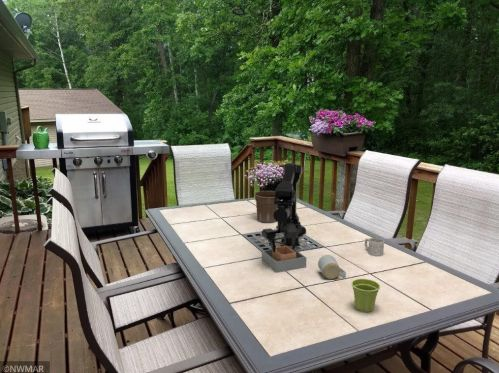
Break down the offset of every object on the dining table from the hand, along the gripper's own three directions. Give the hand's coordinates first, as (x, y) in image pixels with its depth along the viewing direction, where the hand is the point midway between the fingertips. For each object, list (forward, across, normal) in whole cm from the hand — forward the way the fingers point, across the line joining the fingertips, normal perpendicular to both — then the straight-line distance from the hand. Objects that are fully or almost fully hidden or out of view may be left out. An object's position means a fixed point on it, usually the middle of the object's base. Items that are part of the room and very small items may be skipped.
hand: (283, 250), depth 171 cm
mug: (+6, +45, -4) cm, 45 cm away
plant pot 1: (+6, +21, +61) cm, 65 cm away
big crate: (+6, 0, 0) cm, 7 cm away
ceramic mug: (+6, +13, -18) cm, 23 cm away
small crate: (+6, 0, 0) cm, 6 cm away
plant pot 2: (+6, +8, -44) cm, 45 cm away
